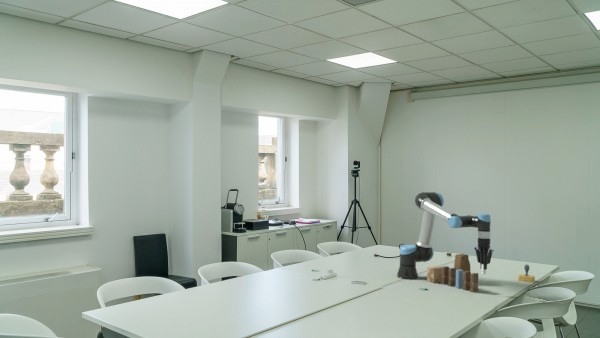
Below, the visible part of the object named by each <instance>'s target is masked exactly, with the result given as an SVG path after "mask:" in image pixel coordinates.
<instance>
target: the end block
mask: <svg viewBox="0 0 600 338" xmlns="http://www.w3.org/2000/svg"><path fill="white" fill-rule="evenodd" d="M442 267H443V266H442V265H441V266H440V265H437V266H429V267H427V268H426V269H427V270H426V271H427V273H426V274H427V275H426V277H427V278H426V282H428V283H432V284H436V283H442Z"/></svg>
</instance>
